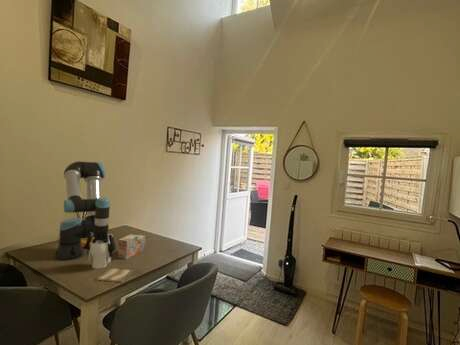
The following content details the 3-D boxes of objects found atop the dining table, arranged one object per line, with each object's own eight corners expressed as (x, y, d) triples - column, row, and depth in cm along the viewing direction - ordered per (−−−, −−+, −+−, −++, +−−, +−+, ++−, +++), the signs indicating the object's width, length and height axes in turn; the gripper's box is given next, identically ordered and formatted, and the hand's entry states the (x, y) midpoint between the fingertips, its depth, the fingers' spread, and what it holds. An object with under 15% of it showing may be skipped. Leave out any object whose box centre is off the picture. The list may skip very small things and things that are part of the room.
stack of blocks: (137, 247, 183) (138, 230, 182) (145, 248, 182) (146, 231, 181) (117, 257, 162) (118, 239, 162) (125, 259, 161) (127, 240, 160)
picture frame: (95, 280, 132) (95, 278, 132) (109, 268, 146) (109, 267, 146) (121, 282, 132) (121, 281, 132) (132, 270, 146) (132, 269, 146)
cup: (112, 262, 154) (113, 238, 153) (104, 270, 144) (105, 244, 143) (94, 261, 154) (96, 237, 153) (85, 269, 143) (86, 243, 142)
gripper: (78, 224, 144) (76, 261, 145) (117, 228, 143) (115, 265, 144) (86, 221, 151) (84, 256, 153) (123, 224, 151) (121, 260, 152)
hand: (99, 261), depth 148 cm, fingers closed on cup, 11 cm apart
